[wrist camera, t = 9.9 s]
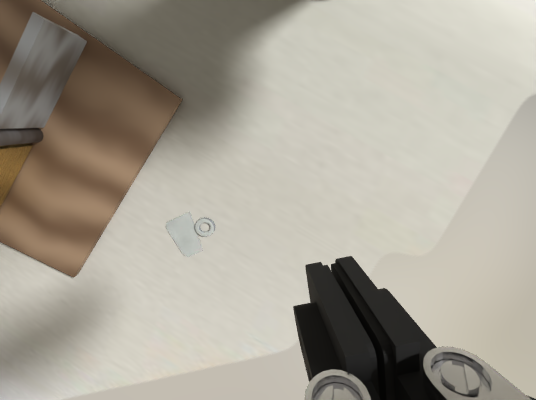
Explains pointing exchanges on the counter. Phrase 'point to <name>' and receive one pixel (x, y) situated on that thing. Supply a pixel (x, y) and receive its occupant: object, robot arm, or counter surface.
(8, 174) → the bar
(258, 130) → the counter surface
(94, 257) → the counter surface
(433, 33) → the counter surface
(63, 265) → the hinge base
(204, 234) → the mounting bracket
